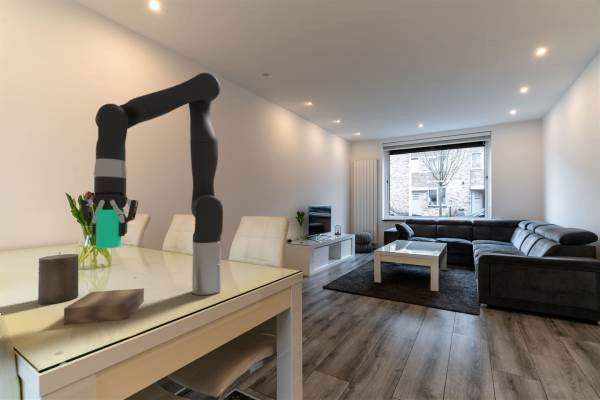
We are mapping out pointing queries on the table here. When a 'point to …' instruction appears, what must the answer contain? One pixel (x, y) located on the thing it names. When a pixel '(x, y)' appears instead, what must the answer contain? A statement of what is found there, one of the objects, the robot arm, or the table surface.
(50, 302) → the pillar candle
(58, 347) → the table surface
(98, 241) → the teal green tall block
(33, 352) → the table surface
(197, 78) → the robot arm
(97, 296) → the walnut stand
